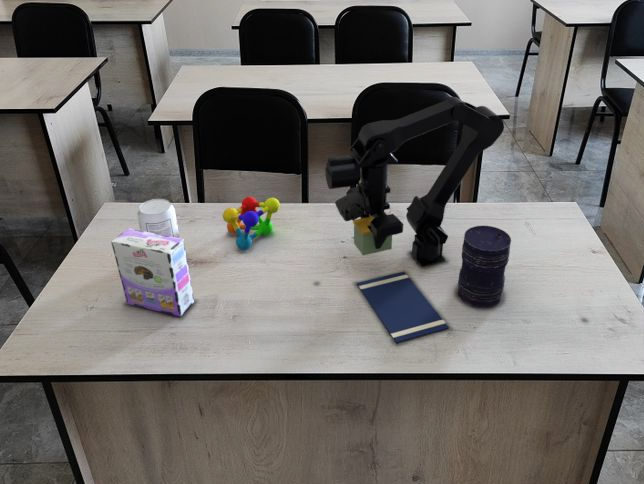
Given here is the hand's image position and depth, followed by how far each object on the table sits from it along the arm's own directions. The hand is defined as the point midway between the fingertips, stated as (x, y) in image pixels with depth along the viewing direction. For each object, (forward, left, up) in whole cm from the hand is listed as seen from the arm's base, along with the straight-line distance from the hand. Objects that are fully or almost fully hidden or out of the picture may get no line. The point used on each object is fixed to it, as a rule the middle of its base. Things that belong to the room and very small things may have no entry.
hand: (372, 241), depth 139 cm
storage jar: (-18, +18, -7) cm, 27 cm away
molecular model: (+24, -22, -7) cm, 33 cm away
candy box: (+48, -5, -7) cm, 49 cm away
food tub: (0, 0, -1) cm, 1 cm away
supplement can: (+45, -21, -7) cm, 50 cm away
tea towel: (0, +15, -7) cm, 17 cm away
